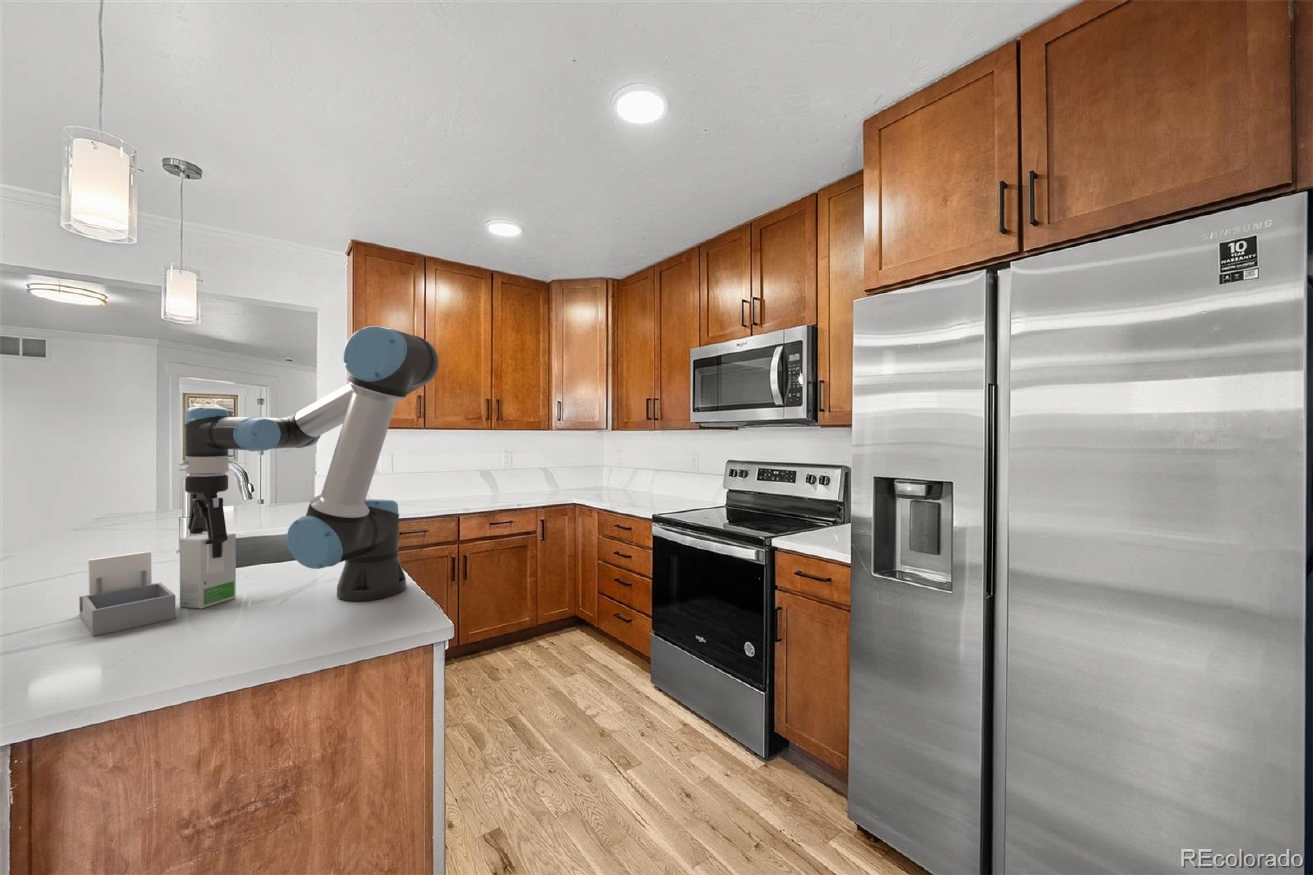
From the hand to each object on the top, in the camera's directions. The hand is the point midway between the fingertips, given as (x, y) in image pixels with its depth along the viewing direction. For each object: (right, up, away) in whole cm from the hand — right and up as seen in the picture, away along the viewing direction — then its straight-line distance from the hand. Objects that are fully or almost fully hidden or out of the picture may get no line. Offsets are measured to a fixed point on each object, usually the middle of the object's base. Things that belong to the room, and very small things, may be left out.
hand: (206, 566), depth 120 cm
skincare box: (0, -9, 0) cm, 9 cm away
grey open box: (-9, -9, -9) cm, 15 cm away
